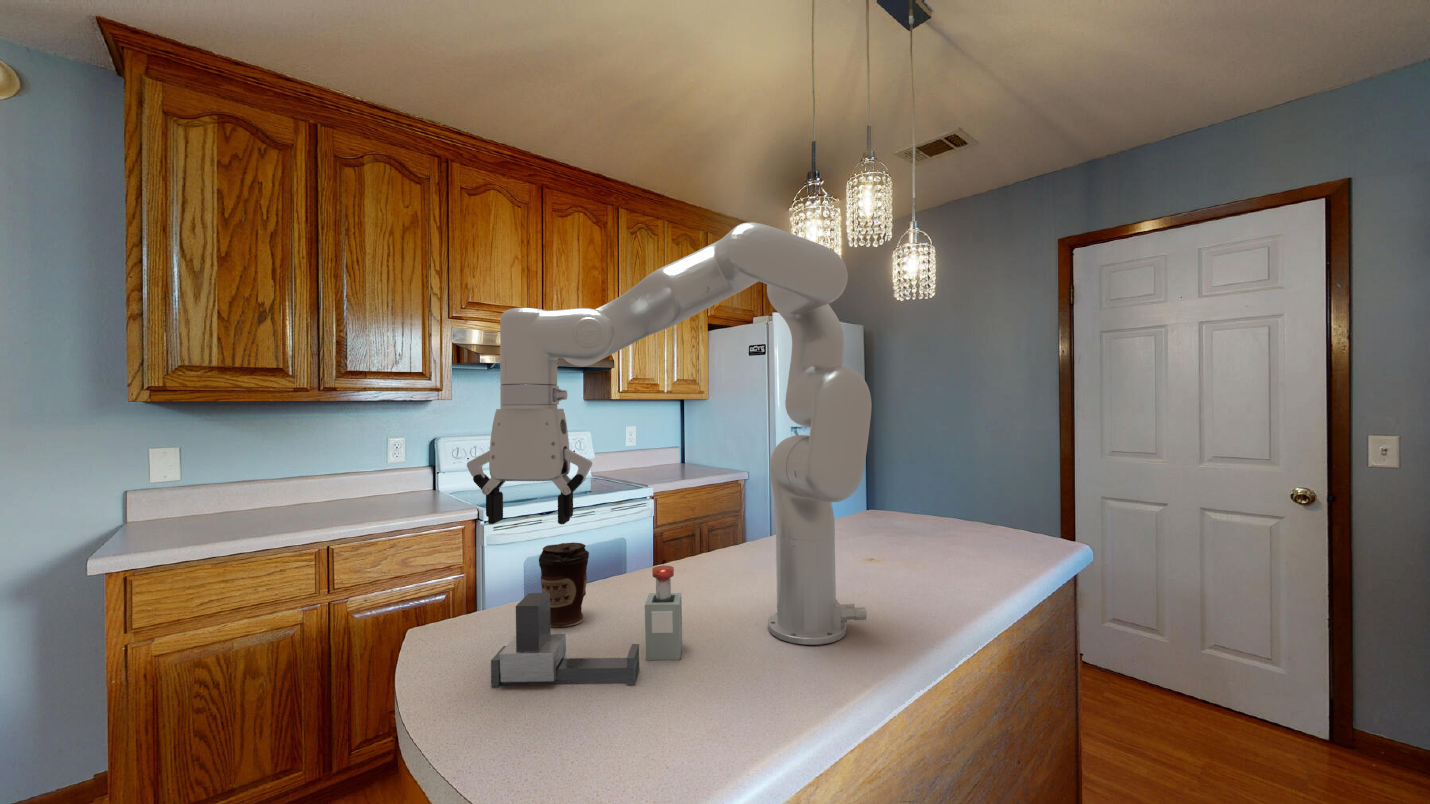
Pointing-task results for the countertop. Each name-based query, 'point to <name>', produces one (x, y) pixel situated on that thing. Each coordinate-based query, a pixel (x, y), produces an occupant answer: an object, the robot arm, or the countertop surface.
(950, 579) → the countertop surface
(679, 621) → the grey square housing
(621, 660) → the rail
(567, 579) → the coffee cup
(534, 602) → the carriage
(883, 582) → the countertop surface
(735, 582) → the countertop surface
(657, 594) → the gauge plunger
